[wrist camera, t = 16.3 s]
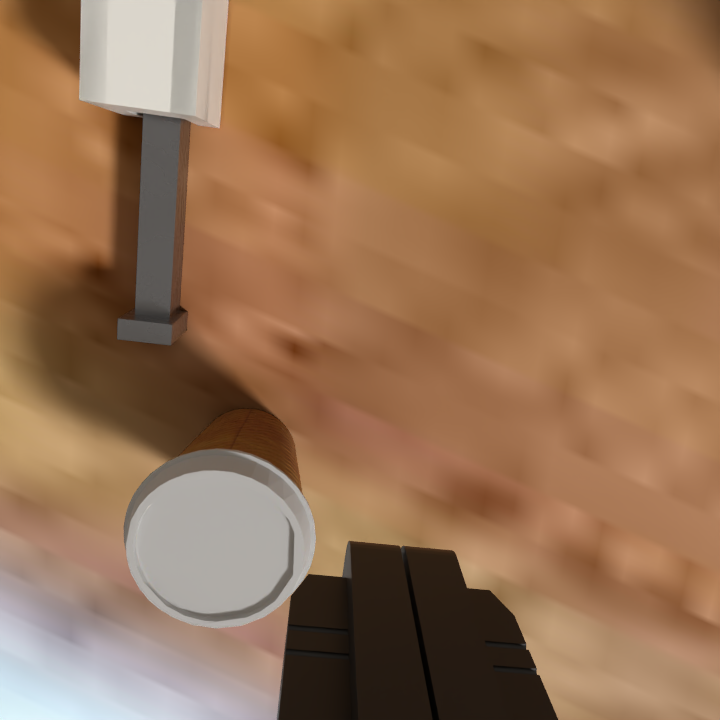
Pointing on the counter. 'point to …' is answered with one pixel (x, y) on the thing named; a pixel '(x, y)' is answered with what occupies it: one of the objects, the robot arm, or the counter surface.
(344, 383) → the counter surface
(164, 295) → the rail
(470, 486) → the counter surface
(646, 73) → the counter surface
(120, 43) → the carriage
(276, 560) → the disposable coffee cup
